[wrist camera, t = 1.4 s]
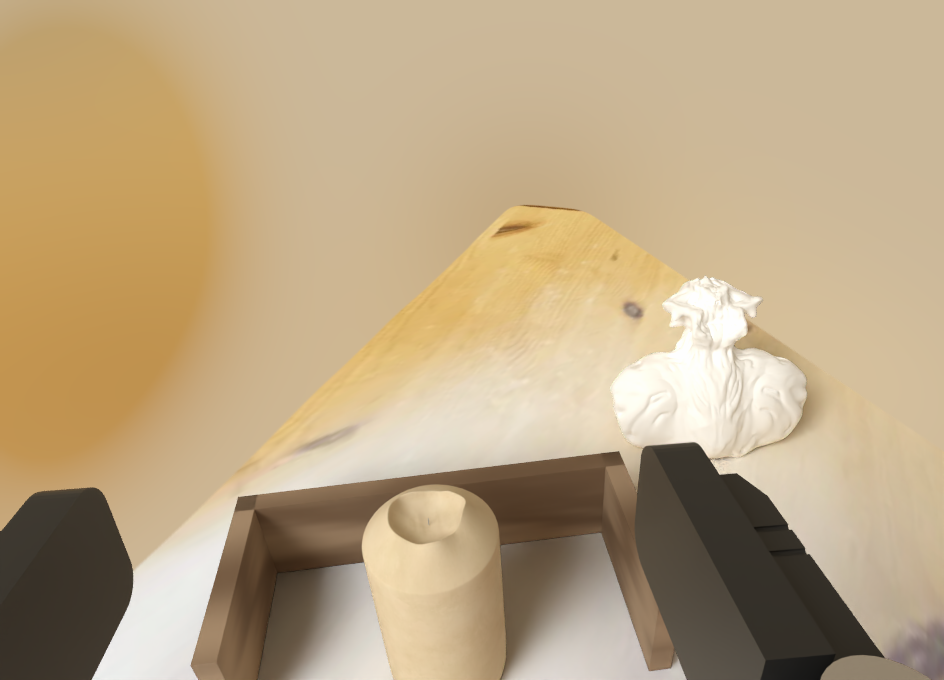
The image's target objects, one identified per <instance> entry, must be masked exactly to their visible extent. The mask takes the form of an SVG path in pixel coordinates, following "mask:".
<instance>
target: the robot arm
mask: <svg viewBox="0 0 944 680" xmlns="http://www.w3.org/2000/svg"><path fill="white" fill-rule="evenodd" d="M635 540H636V547H637V552H638V556H639V560H640V563H641V566H642V569H643V571H644V574H645V576H646V579H647V581H648V584H649V586H650V589H651V591H652V594H653V596H654V599H655V601H656V604H657V606H658V609H659V611H660V614H661V616H662V619H663V621H664V624H665V626H666V629H667V631H668V634H669V636H670V639H671V641H672V644H673V646H674V649H675V651H676V654H677V656H678V659H679V661H680V664H681V666H682V669H683V671H684V674H685V676H686V679H687V680H931V679H930V678H928V677H926V676H925V675H923V674H921V673H920V672H918V671H916V670H914V669H912V668H910V667H908V666H906V665H903V664H901V663H898V662H895V661H892V660H889V659H886V658H885V657H884V656H883V655H882V653H881V652H880V651H879V650H878V648H877V647H876V646H875V644H874V643H873V641H872V640H871V639H870V637H869V636H868V635H867V633H866V632H865V630H864V629H863V628H862V626H861V625H860V623H859V622H858V621H857V619H856V618H855V616H854V615H853V614H852V612H851V611H850V610H849V608H848V607H847V605H846V604H845V603H844V601H843V600H842V598H841V597H840V596H839V594H838V593H837V592H836V590H835V589H834V587H833V586H832V585H831V583H830V582H829V580H828V579H827V578H826V576H825V575H824V574H823V572H822V571H821V569H820V568H819V567H818V565H817V564H816V562H815V561H814V560H813V558H812V557H811V556H810V554H806V552H805V547H804V546H803V544H802V543H801V542H800V540H799V539H798V538H797V536H796V535H795V533H794V532H793V531H792V530H789V529H788V524H787V522H786V521H785V520H784V518H783V517H782V515H781V514H780V513H779V511H778V510H777V508H776V507H775V506H774V504H773V503H772V501H771V500H770V499H769V497H768V496H767V495H765V494H764V493H763V492H761V491H760V490H759V489H757V488H756V487H754V486H753V485H752V484H750V483H749V482H748V481H746V480H745V479H744V478H742V477H741V476H739V475H738V474H737V473H736V474H724V475H719V473H718V472H717V470H716V469H715V467H714V466H713V464H712V463H711V461H710V460H709V458H708V456H707V455H706V453H705V452H704V450H703V449H702V447H701V446H700V445H699V444H698V443H696V442H688V443H675V444H662V445H649V446H645V447H644V449H643V451H642V455H641V462H640V473H639V483H638V493H637V503H636V513H635ZM132 589H133V569H132V564H131V561H130V559H129V556H128V553H127V551H126V548H125V546H124V543H123V541H122V538H121V536H120V534H119V531H118V528H117V526H116V523H115V521H114V518H113V516H112V513H111V511H110V508H109V505H108V503H107V500H106V498H105V496H104V495H103V493H102V492H101V491H100V490H99V489H97V488H81V489H80V488H79V489H67V490H55V491H42V492H37V493H35V494H33V495H32V496H31V497H29V499H28V500H27V501H26V502H25V503H24V505H22V507H21V508H20V509H19V510H18V512H17V513H16V514H15V515H14V516H13V518H12V519H11V520H10V521H9V523H8V524H7V525H6V526H5V527H4V529H3V530H2V531H0V680H92V678H93V676H94V674H95V672H96V670H97V668H98V666H99V664H100V662H101V660H102V658H103V656H104V654H105V652H106V650H107V648H108V646H109V644H110V642H111V640H112V638H113V636H114V634H115V632H116V630H117V628H118V626H119V624H120V622H121V620H122V618H123V616H124V614H125V612H126V610H127V607H128V605H129V602H130V599H131V595H132Z"/></svg>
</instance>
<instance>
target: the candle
mask: <svg viewBox="0 0 944 680" xmlns="http://www.w3.org/2000/svg"><path fill="white" fill-rule="evenodd" d="M362 554H363V559H364V563H365V567H366V571H367V575H368V580H369V584H370V588H371V592H372V596H373V600H374V604H375V608H376V612H377V616H378V620H379V625H380V629H381V633H382V637H383V641H384V645H385V649H386V653H387V657H388V661H389V665H390V668H391V672H392V675H393V678H394V680H500V678H501V676H502V673H503V670H504V666H505V661H506V631H505V616H504V600H503V585H502V569H501V554H500V539H499V528H498V523H497V520H496V517H495V515H494V513H493V511H492V510H491V508H490V507H489V506H488V505H487V504H486V503H485V502H484V501H483V500H482V499H481V498H479V497H478V496H477V495H475V494H473V493H471V492H469V491H467V490H464V489H462V488H458V487H454V486H449V485H440V484H435V485H424V486H419V487H415V488H412V489H409V490H406V491H404V492H402V493H400V494H398V495H396V496H394V497H393V498H391V499H390V500H389V501H387V502H386V503H385V504H383V505H382V506H381V507H380V508H379V509H378V510H377V511H376V512H375V513H374V515H373V516H372V518H371V519H370V520H369V522H368V524H367V526H366V528H365V531H364V534H363V539H362Z"/></svg>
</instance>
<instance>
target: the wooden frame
mask: <svg viewBox="0 0 944 680" xmlns="http://www.w3.org/2000/svg"><path fill="white" fill-rule="evenodd" d="M435 484H440V485H449V486H454V487H458V488H462V489H464V490H467V491H469V492H471V493H473V494H475V495H477V496H478V497H479V498H481V499H482V500H483V501H484V502H485V503H486V504H487V505H488V506H489V507H490V508H491V510H492V511H493V513H494V515H495V517H496V520H497V523H498V528H499V539H500V545H503V544H511V543H519V542H527V541H534V540H542V539H550V538H558V537H566V536H574V535H582V534H590V533H598V532H601V533H602V535H603V538H604V541H605V544H606V547H607V550H608V553H609V556H610V559H611V562H612V565H613V567H614V570H615V573H616V576H617V579H618V582H619V585H620V588H621V591H622V594H623V597H624V599H625V602H626V605H627V608H628V611H629V614H630V617H631V620H632V623H633V626H634V629H635V631H636V634H637V637H638V640H639V643H640V646H641V649H642V652H643V655H644V658H645V661H646V663H647V666H648V669H649V671H653V670H661V669H668V668H671V664H672V658H673V653H674V646H673V644H672V641H671V639H670V636H669V634H668V631H667V629H666V626H665V624H664V621H663V619H662V616H661V614H660V611H659V609H658V606H657V604H656V601H655V599H654V596H653V594H652V591H651V589H650V586H649V584H648V581H647V579H646V576H645V574H644V571H643V569H642V566H641V563H640V560H639V556H638V552H637V547H636V540H635V513H636V503H637V492H636V490H635V488H634V485H633V483H632V481H631V478H630V476H629V474H628V471H627V469H626V467H625V464H624V462H623V460H622V457H621V455H620V453H619V451H618V452H609V453H601V454H593V455H584V456H576V457H568V458H560V459H551V460H543V461H535V462H526V463H518V464H510V465H501V466H493V467H485V468H476V469H468V470H460V471H452V472H443V473H435V474H427V475H418V476H410V477H402V478H393V479H385V480H377V481H368V482H360V483H352V484H343V485H335V486H327V487H319V488H310V489H302V490H294V491H285V492H277V493H269V494H260V495H252V496H244V497H238V500H237V504H236V507H235V511H234V514H233V518H232V521H231V525H230V528H229V532H228V535H227V539H226V542H225V546H224V550H223V553H222V557H221V560H220V564H219V567H218V571H217V574H216V578H215V581H214V585H213V588H212V592H211V595H210V599H209V602H208V606H207V609H206V613H205V617H204V620H203V624H202V627H201V631H200V634H199V638H198V641H197V645H196V648H195V652H194V655H193V659H192V662H191V667H192V669H193V671H194V673H195V674H196V676H197V678H198V680H257V678H258V673H259V668H260V663H261V657H262V652H263V647H264V641H265V636H266V631H267V625H268V620H269V615H270V609H271V604H272V599H273V593H274V588H275V583H276V578H277V573H281V572H289V571H297V570H305V569H313V568H321V567H329V566H337V565H344V564H352V563H360V562H364V559H363V554H362V539H363V534H364V531H365V528H366V526H367V524H368V522H369V520H370V519H371V518H372V516H373V515H374V513H375V512H376V511H377V510H378V509H379V508H380V507H381V506H382V505H383V504H385V503H386V502H387V501H389V500H390V499H391V498H393V497H394V496H396V495H398V494H400V493H402V492H404V491H406V490H409V489H412V488H415V487H419V486H424V485H435Z"/></svg>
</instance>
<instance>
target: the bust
mask: <svg viewBox="0 0 944 680" xmlns="http://www.w3.org/2000/svg"><path fill="white" fill-rule="evenodd" d="M762 301H763V298H762V297H759V296H756V297H753V296H750V295H748V294H747V293H746V292H744V291H740V290H738V289H736V288H734V287H733V286H731V285H730V284H728V283H727V282H725V281H722V280H718V279H715V278H714V277H713V278H710V279H709V278H708V277H706V276H705V277H704V278H703V279H699V278H697V279H694V280H691V281H687V282H685V283H684V284H683V285H682V286H681V288H680V290H679V291H678V292H677V293H675V294H673V295H672V296H671V297H670V298H668V299H667V300H665V301H664V302H663V303H662V306H663V308H664V310H665V311H666V312H668V313H671V323H670V327H677V326H684V327H685V330H684V332H683V335H682V337H681V339H680V340H679V341H678V342H677V343H676V348H675V349H674V350H673V351H671V352H669V353H666V352H654V353H651V354H648V355H646V356H644V357H642V358H640V359H639V360H637V361H636V362H634V363H632V364H630V365H628V366H627V367H625V368H624V369H623V370H622V371H621V372H620V374H619V375H618V376H617V377H616V379H615V380H614V382H613V383H612V385H611V387H610V391H611V393H612V397H613V401H614V404H613V407H614V411H615V414H616V417H617V420H618V424H619V427H620V429H621V432H622V433H623V436H624V437H625V439H626V440H627V441H628V442H629V443H630V444H632V445H634V446H637V447H641V448H644V447H645V446H649V445H662V444H675V443H688V442H696V443H698V444H699V445H700V446H701V447H702V449H703V450H704V452H705V453H706V455H707V456H708V458H723V457H728V456H731V457H735V458H736V457H741V456H743V455H745V454H747V453H748V452H750V451H751V450H753V449H754V448H757V447H760V446H764V445H768V444H770V443H774V442H777V441H780V440H782V439H784V438H785V437H787V436H788V435H789V434H790V433H791V432H792V431H793V429H794V428H795V427H796V425H797V424H798V422H799V421H800V419H801V417H802V414H803V405H804V403H805V401H806V398H807V390H806V384H807V379H806V376H805V375H804V373H803V372H802V371H801V370H800V369H799V368H798V367H797V366H796V365H795V364H794V363H793V362H791V361H790V360H788V359H785V358H782V357H777V356H773V355H771V354H770V353H768V352H766V351H764V350H760V349H757V348H747V349H743V350H742V349H738V348H736V347H735V346H734V344H735V342H736V341H737V340H740V338H741V337H744V336H746V335H747V331H748V329H747V321H746V319H745V315H744V313H746V314H748V315H749V316H750V317H752V318H754V317H756V315H757V312H756V308H757V306H758V305H760V304H761V302H762Z"/></svg>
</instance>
